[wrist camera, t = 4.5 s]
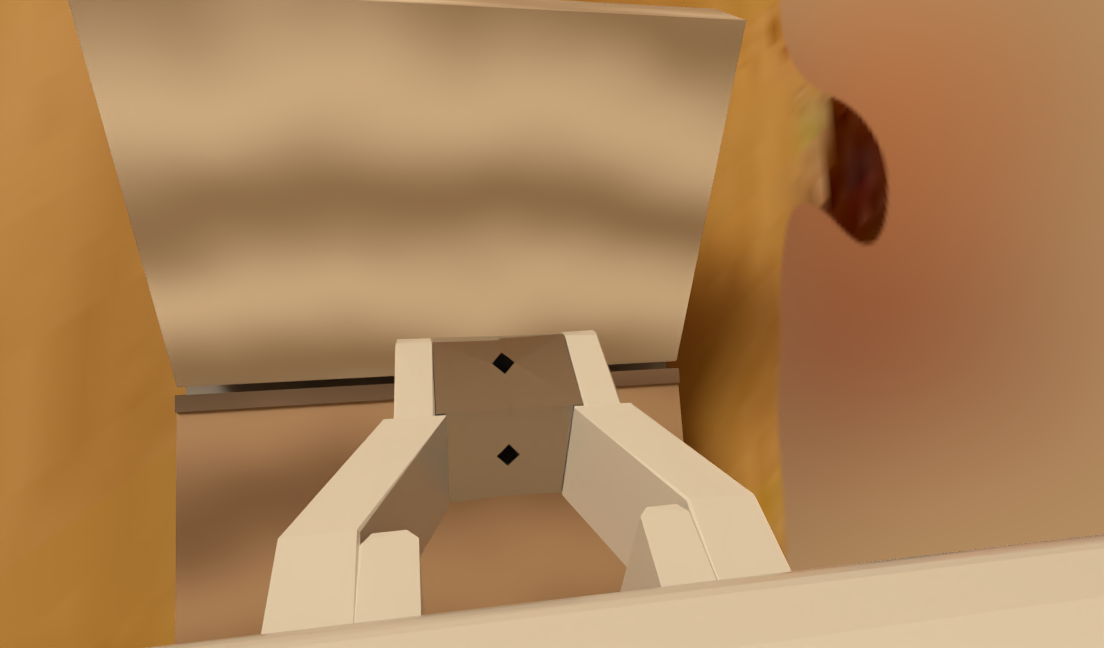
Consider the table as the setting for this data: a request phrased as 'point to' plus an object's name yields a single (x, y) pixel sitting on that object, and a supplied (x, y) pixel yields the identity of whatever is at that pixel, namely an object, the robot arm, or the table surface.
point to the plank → (409, 172)
